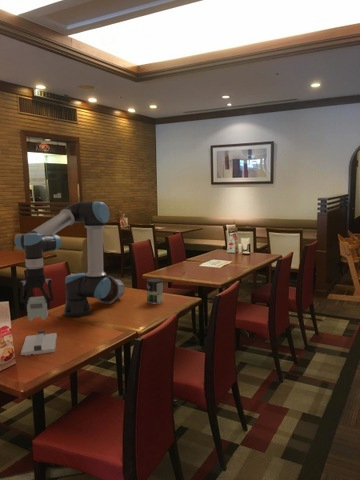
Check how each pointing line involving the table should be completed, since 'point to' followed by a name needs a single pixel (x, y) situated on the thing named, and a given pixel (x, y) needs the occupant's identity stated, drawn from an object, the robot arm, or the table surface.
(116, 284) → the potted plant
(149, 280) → the coffee can
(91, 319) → the table surface
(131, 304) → the table surface
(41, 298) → the block
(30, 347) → the mounting plate
